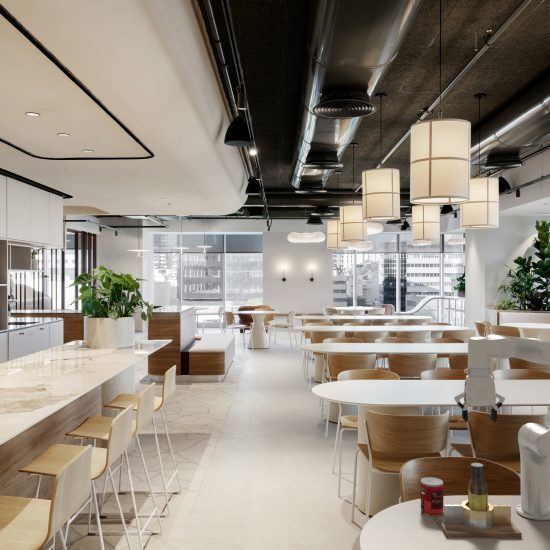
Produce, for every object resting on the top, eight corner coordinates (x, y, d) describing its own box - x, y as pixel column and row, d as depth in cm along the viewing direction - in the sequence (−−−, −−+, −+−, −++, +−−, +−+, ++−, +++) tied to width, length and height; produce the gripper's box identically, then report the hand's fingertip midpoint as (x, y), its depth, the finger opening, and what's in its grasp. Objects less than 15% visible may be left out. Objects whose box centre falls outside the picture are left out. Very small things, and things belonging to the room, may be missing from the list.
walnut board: (436, 518, 202) (436, 514, 202) (506, 519, 201) (506, 514, 201) (446, 537, 188) (446, 532, 188) (521, 537, 187) (521, 533, 187)
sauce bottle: (475, 517, 199) (475, 459, 199) (491, 524, 194) (491, 464, 194) (464, 522, 195) (463, 463, 195) (480, 529, 190) (480, 468, 190)
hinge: (440, 516, 200) (440, 499, 200) (505, 517, 199) (505, 499, 199) (447, 529, 190) (447, 511, 190) (516, 530, 189) (516, 512, 189)
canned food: (424, 505, 213) (424, 475, 213) (446, 509, 209) (445, 479, 209) (417, 513, 207) (417, 482, 206) (440, 517, 203) (440, 486, 202)
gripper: (457, 374, 200) (457, 423, 200) (508, 374, 200) (508, 423, 200) (451, 370, 208) (451, 418, 208) (500, 370, 207) (500, 418, 207)
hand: (479, 421), depth 204 cm, fingers open, 9 cm apart
